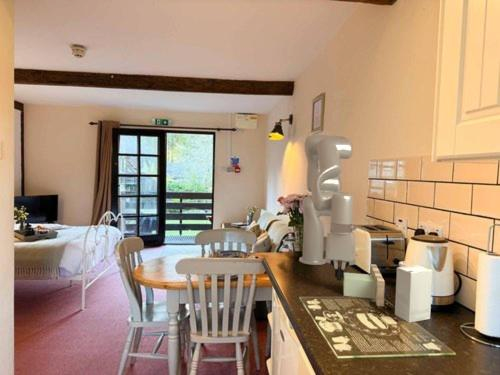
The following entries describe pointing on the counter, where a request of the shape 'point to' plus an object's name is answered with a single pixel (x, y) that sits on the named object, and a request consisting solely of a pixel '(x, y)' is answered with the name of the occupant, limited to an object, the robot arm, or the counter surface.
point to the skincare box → (413, 293)
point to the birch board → (378, 285)
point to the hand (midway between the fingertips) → (339, 279)
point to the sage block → (359, 285)
